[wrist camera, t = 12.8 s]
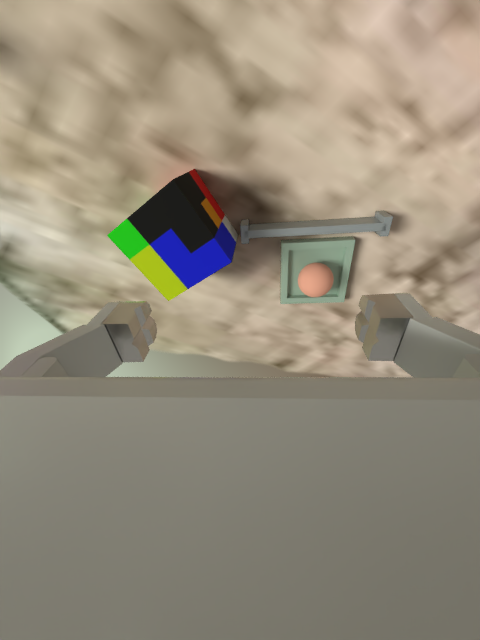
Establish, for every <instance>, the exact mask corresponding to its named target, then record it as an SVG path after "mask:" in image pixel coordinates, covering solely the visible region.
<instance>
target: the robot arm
mask: <svg viewBox="0 0 480 640" xmlns="http://www.w3.org/2000/svg"><path fill="white" fill-rule="evenodd" d="M359 307H360V309H361V312H360V313H359V314H358V315H357V316H356V321H355V331H356V335H357V338H358V340H360V341H361V342H363V347H362V348H363V350H364V352H365V355H366V357H367V359H368V361H394V363H396V364H397V365H398V366H400V367H401V368H402V369H403V370H405V371H406V372H407V373H409V374H410V375H411V376H413V377H414V378H364V377H328V378H326V377H323V378H322V377H320V378H319V377H310V378H308V377H304V378H303V377H299V378H298V377H290V378H289V377H281V378H280V377H276V378H275V377H106V376H107V375H108V374H110V373H111V372H112V371H113V370H115V369H116V368H117V367H118V366H120V365H121V364H122V362H143V361H144V359H145V357H146V356H147V354H148V352H149V347H148V346H149V345H150V344H152V343H153V342H154V340H155V338H156V334H157V327H156V323H155V320H154V319H153V318H152V317H151V316H150V313H151V311H152V310H151V308H150V305H149V303H147V302H146V301H143V302H109V303H107V304H106V305H105V306H104V307H103V308H102V309H101V310H100V311H99V312H98V313H97V315H96V316H95V317H94V318H93V319H92V320H91V321H90V322H89V323H88V324H87V325H82V326H80V327H77V328H75V329H73V330H71V331H69V332H67V333H65V334H63V335H60V336H58V337H56V338H54V339H52V340H50V341H48V342H46V343H44V344H42V345H39V346H37V347H35V348H33V349H31V350H29V351H27V352H24V353H22V354H20V355H18V356H16V357H15V358H14V359H13V360H12V361H10V362H9V363H8V364H7V365H6V366H5V367H4V368H3V369H1V370H0V640H480V335H479V334H477V333H474V332H472V331H469V330H467V329H464V328H462V327H459V326H457V325H455V324H452V323H450V322H447V321H445V320H442V319H440V318H437V317H436V318H432V317H431V316H430V315H429V314H428V312H427V311H426V310H425V309H424V308H423V307H422V306H421V305H420V304H419V303H418V302H417V301H416V300H415V299H414V298H413V297H412V296H411V295H410V294H408V293H396V294H377V295H363V296H362V297H361V299H360V302H359Z"/></svg>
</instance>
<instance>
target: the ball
mask: <svg viewBox="0 0 480 640" xmlns="http://www.w3.org/2000/svg"><path fill="white" fill-rule="evenodd" d="M333 281H334V277H333V273H332V271H331V269H330V268H329V267H328V266H326V265H325V264H322V263H317V262H316V263H311V264H308V265H306V266H305V267H304V268H303V269H302V270H301V271H300V273H299V276H298V285H299V288H300V290H301V291H302V292H303V293H304V294H305V295H307V296H310V297H320V296H323V295H325V294H326V293H328V292H329V290H330V289H331V287H332V285H333Z"/></svg>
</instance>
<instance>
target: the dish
mask: <svg viewBox="0 0 480 640" xmlns="http://www.w3.org/2000/svg"><path fill="white" fill-rule="evenodd" d="M354 245H355V239H354V238H353V237H352V236H348V237H330V238H312V239H293V240H281V272H280V303H281V304H293V303H328V302H344V299H345V294H346V288H347V283H348V277H349V272H350V266H351V261H352V255H353V250H354ZM316 262H317V263H322V264H325V265H326V266H328V267H329V268H330V269H331V271H332V273H333V277H334V281H333V285H332V287H331V289H330V290H329V292H328V293H326V294H325V295H323V296H320V297H310V296H307V295H305V294H304V293H303V292H302V291H301V290H300V288H299V285H298V276H299V273H300V271H301V270H302V269H303V268H304V267H305V266H306V265H308V264H311V263H316Z"/></svg>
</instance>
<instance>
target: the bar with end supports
mask: <svg viewBox="0 0 480 640" xmlns="http://www.w3.org/2000/svg"><path fill="white" fill-rule="evenodd" d="M392 219H393V216H391V215H390V214H388V213H387V212H385V211H376V213H375V217H362V218H346V219H329V220H313V221H297V222H280V223H264V224H249V219H246V220H242V221H241V225H240V228H241V242H242V244H247V243H249V239H250V238H263V237H281V236H299V235H317V234H335V233H353V232H370V231H374V232H375V233H377V234H378V235H379V236H388V235H389V231H390V227H391V223H392Z"/></svg>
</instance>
